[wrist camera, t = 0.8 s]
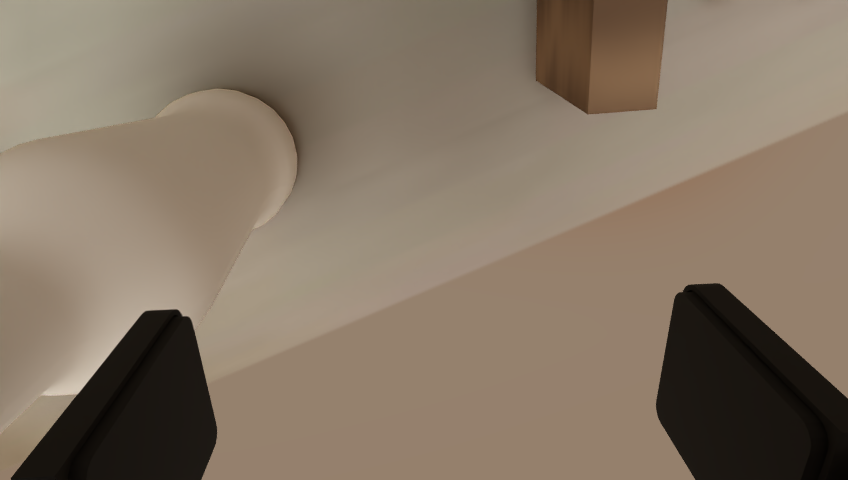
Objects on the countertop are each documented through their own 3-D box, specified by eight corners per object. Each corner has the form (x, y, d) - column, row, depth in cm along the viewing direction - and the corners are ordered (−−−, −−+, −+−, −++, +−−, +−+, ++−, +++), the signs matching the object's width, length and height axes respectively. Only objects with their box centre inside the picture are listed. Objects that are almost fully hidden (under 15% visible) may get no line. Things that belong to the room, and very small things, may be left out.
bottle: (312, 104, 33) (-148, 482, 5) (290, 229, 36) (-98, 940, 8) (173, 70, 32) (-1387, 306, 4) (160, 202, 35) (-839, 904, 7)
